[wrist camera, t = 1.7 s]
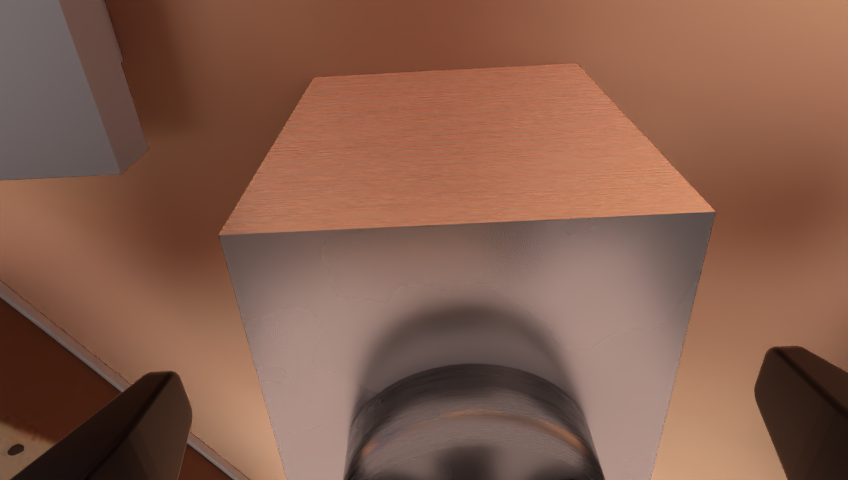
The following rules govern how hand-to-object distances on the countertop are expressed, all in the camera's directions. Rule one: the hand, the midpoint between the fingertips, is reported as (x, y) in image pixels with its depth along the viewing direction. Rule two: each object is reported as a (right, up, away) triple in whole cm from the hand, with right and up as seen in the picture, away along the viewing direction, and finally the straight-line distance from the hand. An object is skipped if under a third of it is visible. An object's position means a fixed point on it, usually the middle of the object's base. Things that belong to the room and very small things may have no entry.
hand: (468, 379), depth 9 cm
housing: (0, +2, +4) cm, 5 cm away
